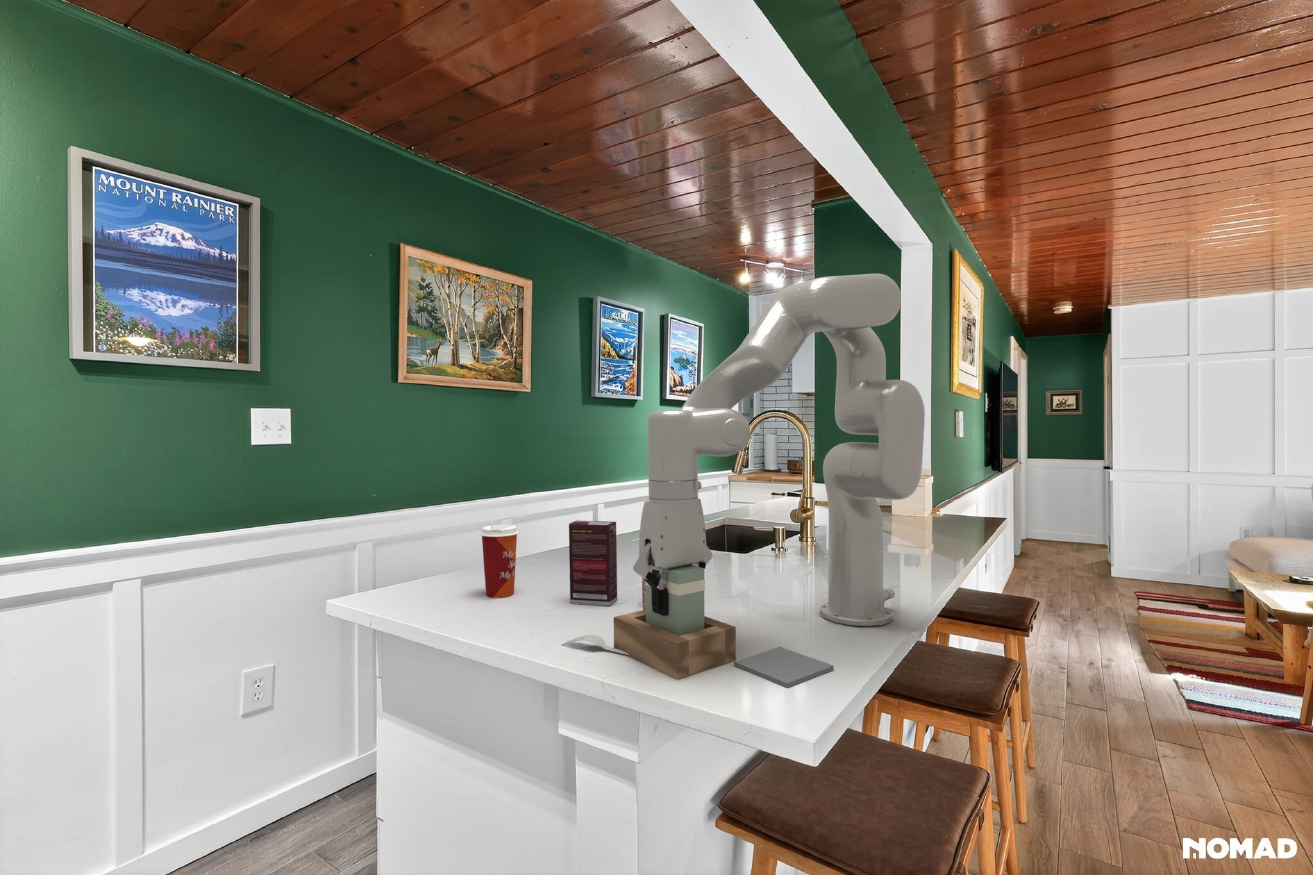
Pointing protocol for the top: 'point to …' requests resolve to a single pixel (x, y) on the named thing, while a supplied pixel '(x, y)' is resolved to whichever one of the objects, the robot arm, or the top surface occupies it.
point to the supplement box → (593, 562)
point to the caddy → (675, 645)
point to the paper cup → (499, 559)
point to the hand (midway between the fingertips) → (675, 608)
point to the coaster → (783, 666)
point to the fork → (596, 642)
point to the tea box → (680, 601)
